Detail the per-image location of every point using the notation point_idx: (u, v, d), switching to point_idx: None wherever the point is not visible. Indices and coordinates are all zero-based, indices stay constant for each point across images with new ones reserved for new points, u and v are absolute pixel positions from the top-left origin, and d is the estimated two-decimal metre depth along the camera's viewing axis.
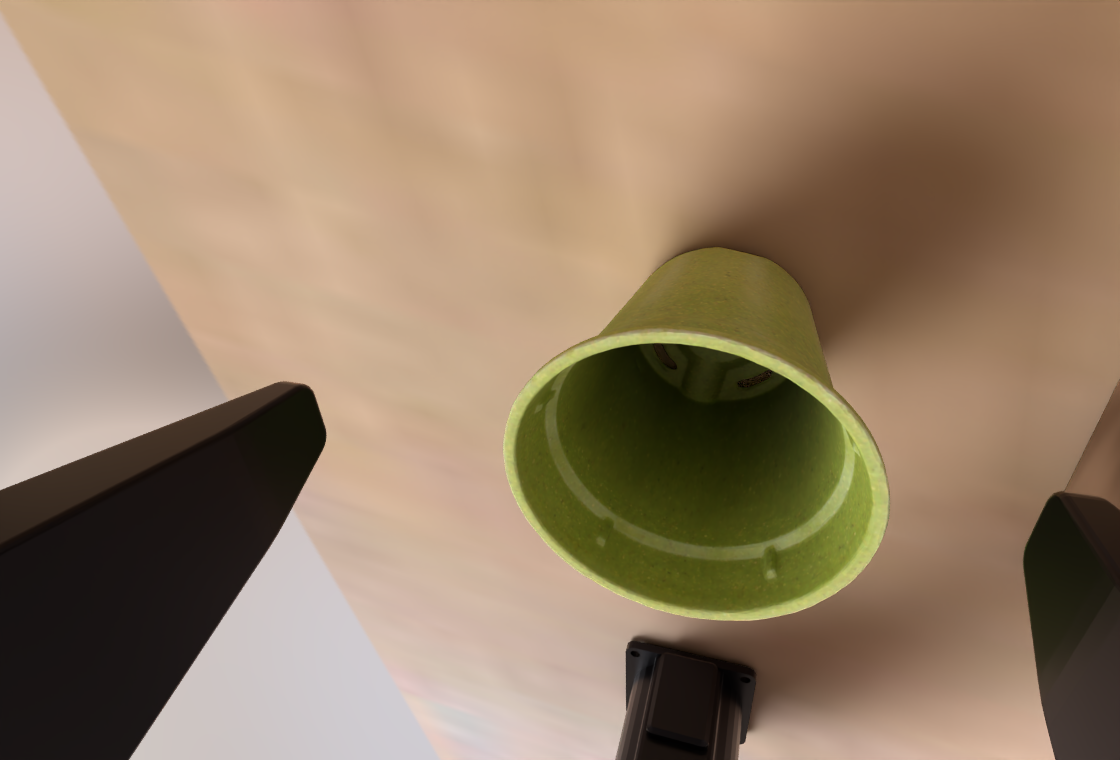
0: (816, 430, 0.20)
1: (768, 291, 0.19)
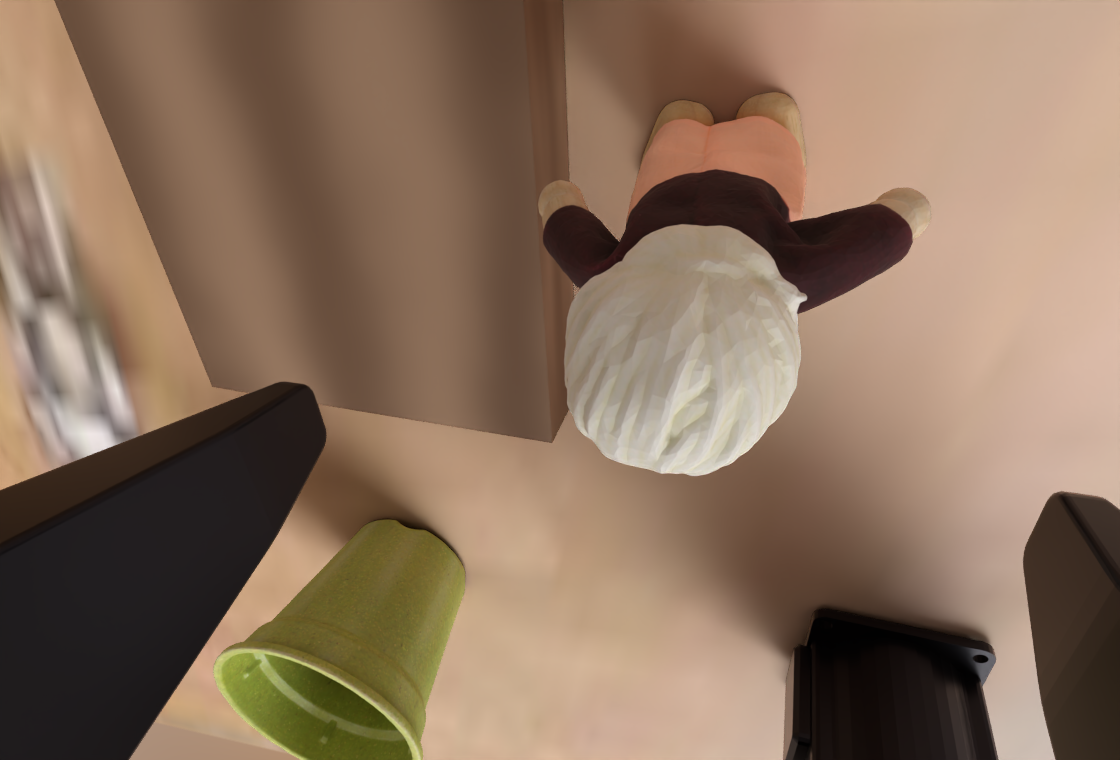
0: (374, 584, 0.28)
1: None
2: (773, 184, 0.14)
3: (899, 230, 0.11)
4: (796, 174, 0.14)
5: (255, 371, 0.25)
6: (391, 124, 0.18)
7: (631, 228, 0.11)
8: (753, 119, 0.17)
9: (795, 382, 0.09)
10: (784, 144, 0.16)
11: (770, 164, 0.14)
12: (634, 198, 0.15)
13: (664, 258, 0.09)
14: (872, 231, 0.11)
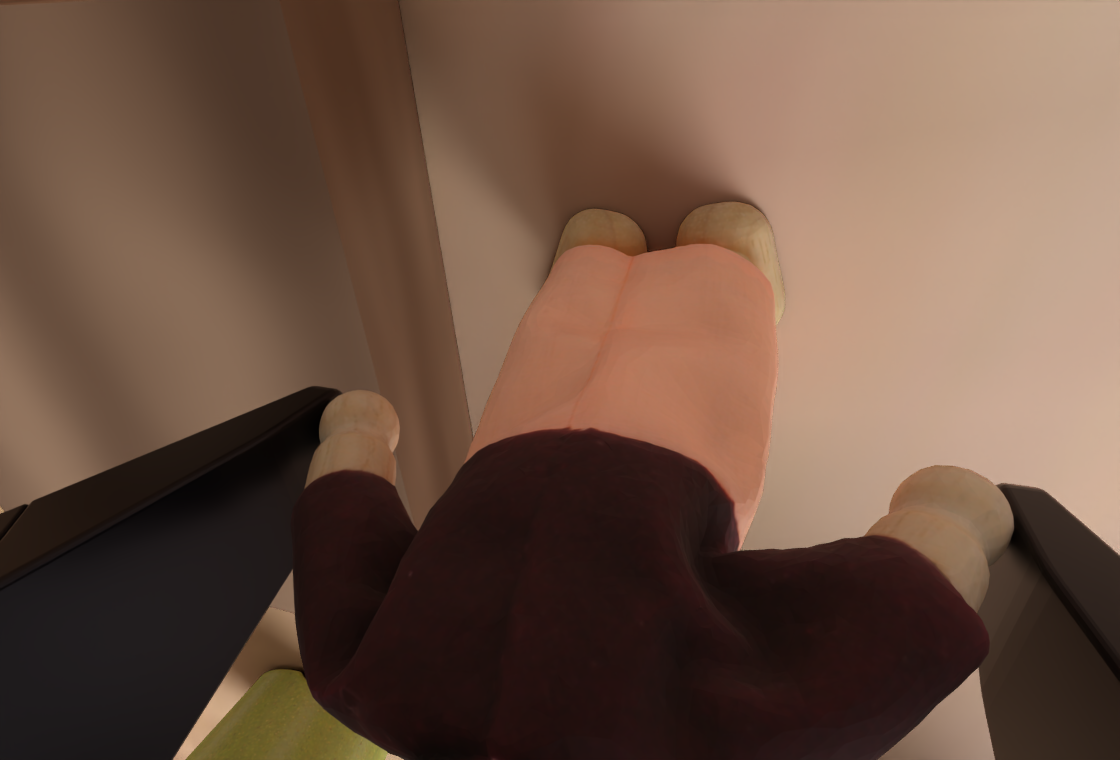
0: None
1: None
2: (714, 416, 0.08)
3: (961, 641, 0.05)
4: (758, 381, 0.08)
5: None
6: (154, 254, 0.12)
7: (382, 619, 0.05)
8: (697, 251, 0.10)
9: None
10: (743, 307, 0.09)
11: (710, 371, 0.08)
12: (481, 421, 0.09)
13: None
14: (902, 651, 0.05)
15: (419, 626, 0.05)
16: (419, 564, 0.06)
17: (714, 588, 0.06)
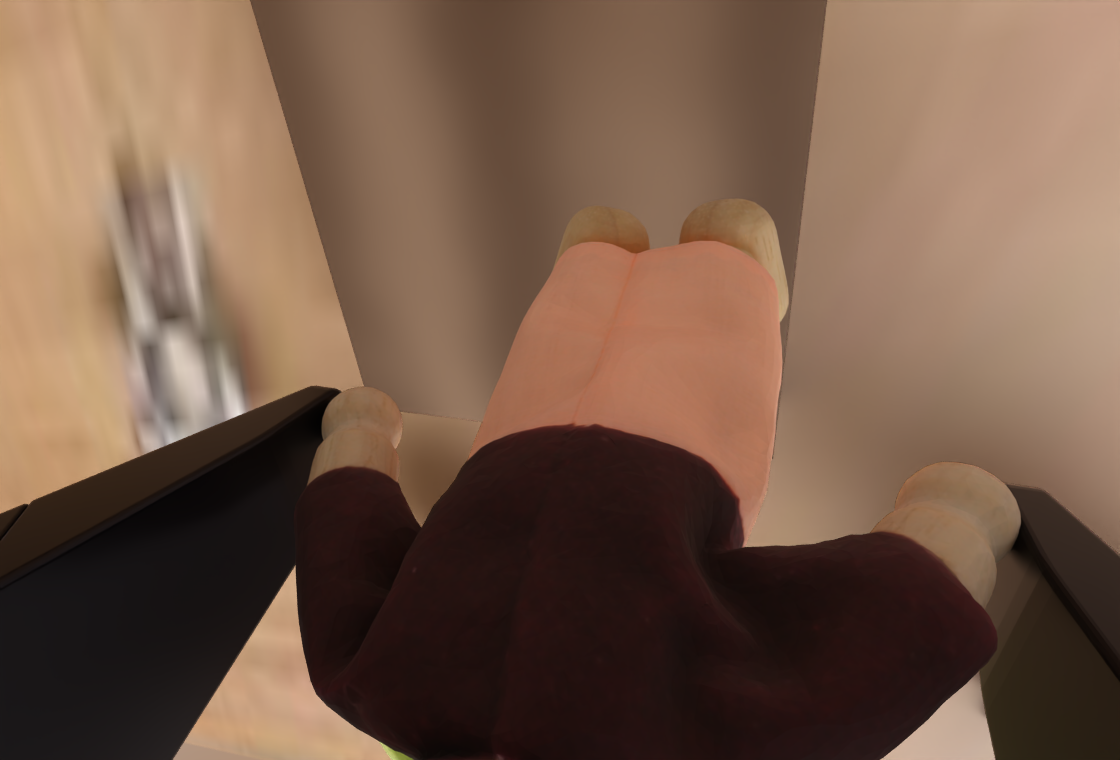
0: None
1: None
2: (718, 412, 0.08)
3: (970, 638, 0.05)
4: (763, 377, 0.08)
5: (423, 389, 0.23)
6: (636, 105, 0.16)
7: (386, 615, 0.05)
8: (700, 248, 0.10)
9: None
10: (747, 304, 0.09)
11: (714, 368, 0.08)
12: (485, 418, 0.09)
13: None
14: (909, 647, 0.05)
15: (423, 622, 0.05)
16: (423, 560, 0.06)
17: (720, 585, 0.06)
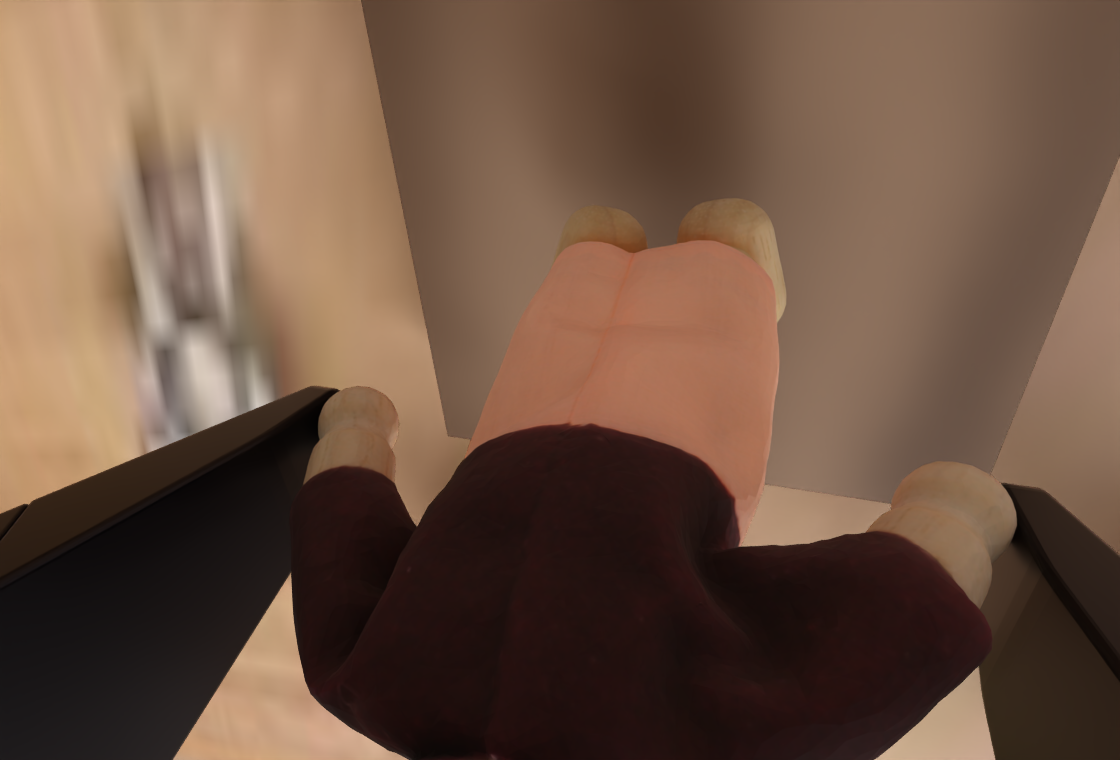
0: None
1: None
2: (714, 412, 0.08)
3: (964, 637, 0.05)
4: (759, 377, 0.08)
5: None
6: (885, 59, 0.11)
7: (381, 616, 0.05)
8: (698, 248, 0.10)
9: None
10: (744, 303, 0.09)
11: (711, 367, 0.08)
12: (481, 417, 0.08)
13: None
14: (904, 646, 0.05)
15: (418, 622, 0.05)
16: (418, 560, 0.06)
17: (715, 584, 0.06)
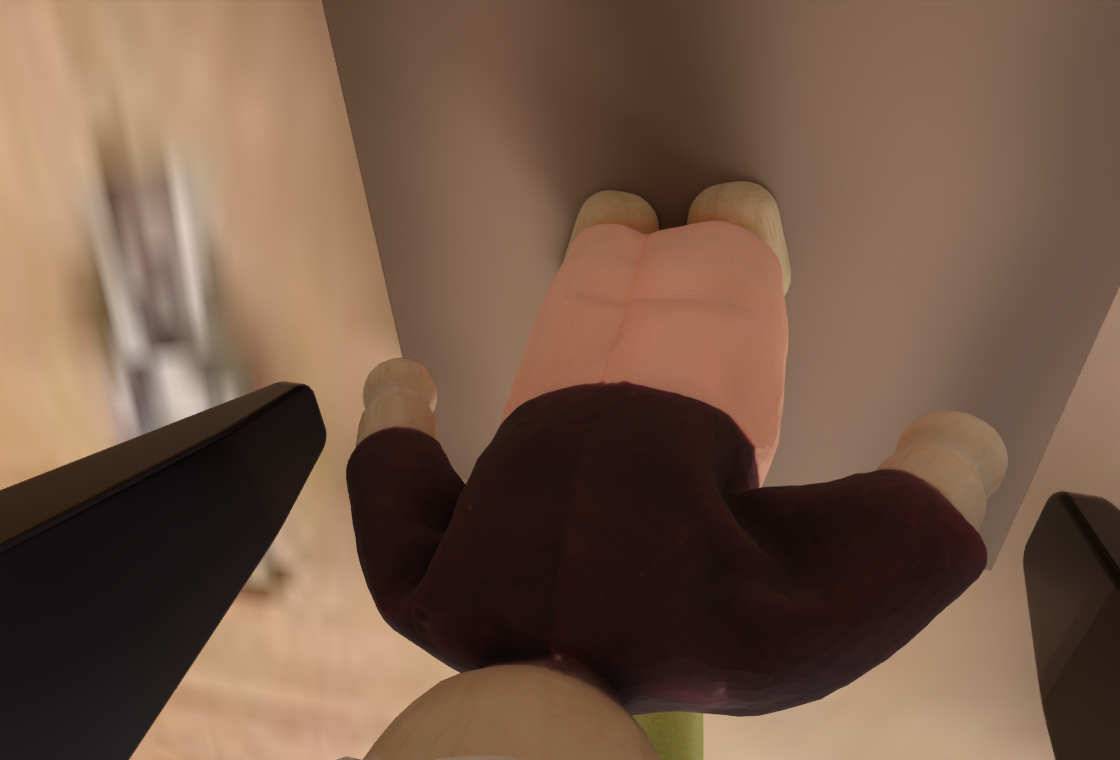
0: None
1: None
2: (732, 374, 0.08)
3: (963, 553, 0.06)
4: (771, 343, 0.09)
5: None
6: (899, 84, 0.10)
7: (448, 545, 0.06)
8: (709, 228, 0.11)
9: None
10: (754, 277, 0.10)
11: (727, 335, 0.09)
12: (514, 385, 0.09)
13: None
14: (910, 561, 0.06)
15: (482, 550, 0.06)
16: (477, 499, 0.06)
17: (740, 518, 0.06)
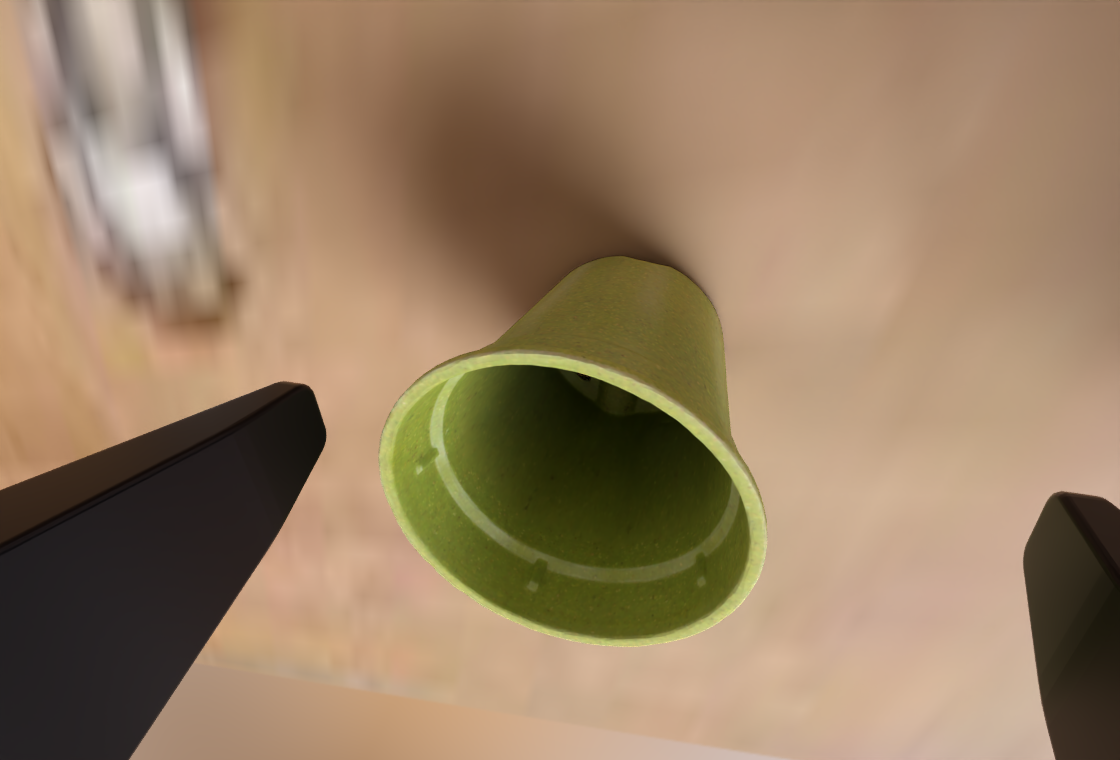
0: (633, 308, 0.17)
1: None
2: None
3: None
4: None
5: None
6: None
7: None
8: None
9: None
10: None
11: None
12: None
13: None
14: None
15: None
16: None
17: None
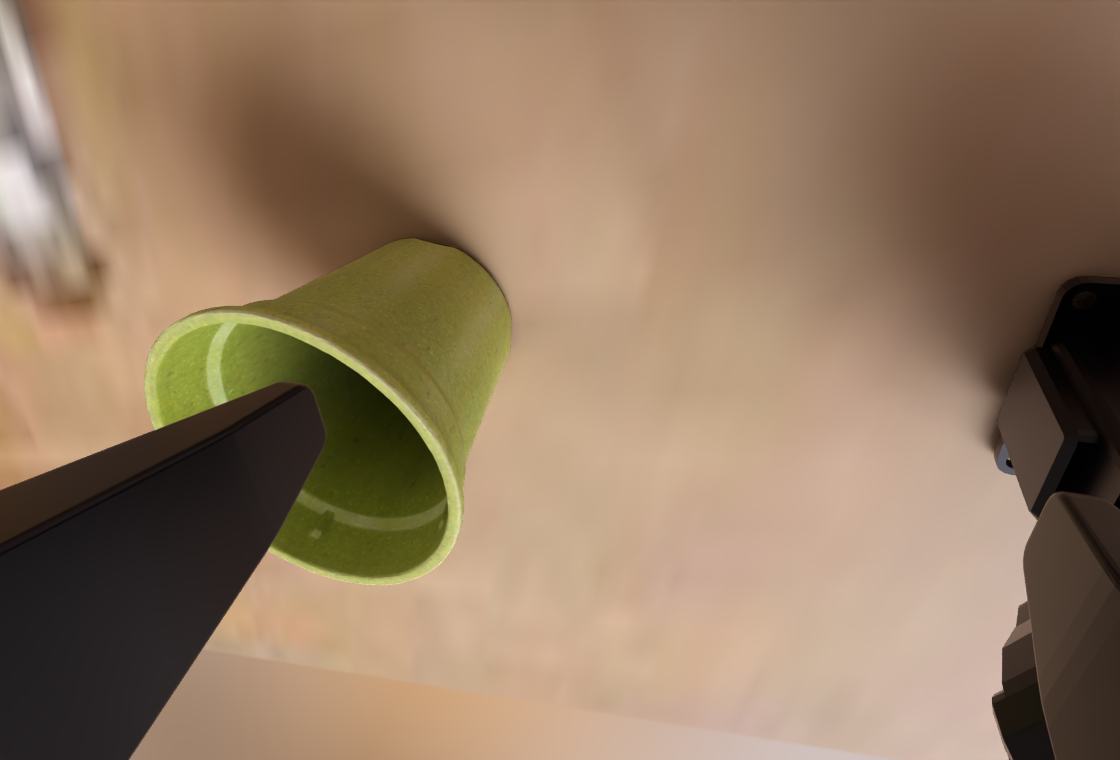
0: (386, 281, 0.19)
1: None
2: None
3: None
4: None
5: None
6: None
7: None
8: None
9: None
10: None
11: None
12: None
13: None
14: None
15: None
16: None
17: None
